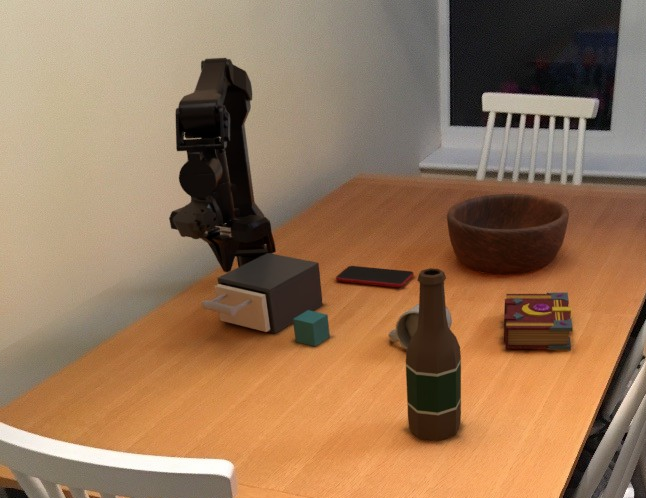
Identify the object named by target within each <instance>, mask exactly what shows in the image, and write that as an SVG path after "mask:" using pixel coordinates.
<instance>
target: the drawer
mask: <svg viewBox="0 0 646 498" xmlns="http://www.w3.org/2000/svg"><path fill="white" fill-rule="evenodd" d="M213 288H214V289H213V290H214V294H215V297H214V298H212V299H211V300H208V299H204V300H202V303H201V307H202V309H204V310H207V311H212V312H216V313H218V317H219V321H222V322H226V323H229V324H232V325H237V326H240V327H245V328H249V329H253V330H257V331H260V332H265V333H267V331H269V330H270V324H271V321H270V314H269V307H268V300H267V293H266V292H262V291H257V290H253V289H248V288H244V287H239V286H235V285H230V284H227V286H225V285H221V284H218V283H217V284H216V285H214V286H213Z"/></svg>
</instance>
